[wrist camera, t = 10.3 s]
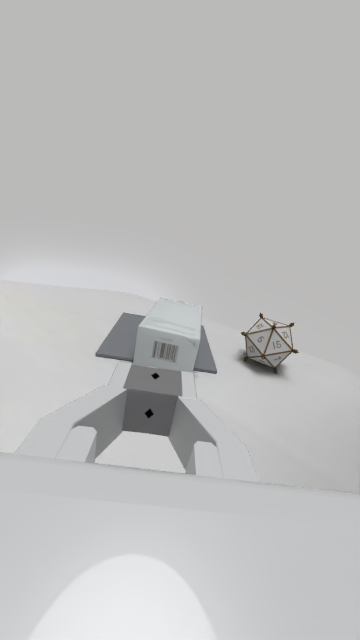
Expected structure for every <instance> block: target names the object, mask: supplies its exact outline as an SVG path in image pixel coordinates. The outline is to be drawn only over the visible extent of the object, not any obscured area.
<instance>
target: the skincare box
mask: <svg viewBox="0 0 360 640" xmlns="http://www.w3.org/2000/svg"><path fill="white" fill-rule="evenodd" d="M202 308H203V307H202V306H196V305H190V304H186V303H184V302H181V301H172V300H167V299H163V298H160V299H159V300H158V301H157V303H156V304H155V305H154V306H153V308H152V309H151V310H150V312H149V313H148V314H147V316H146V317H145V318H144V319H143V321H142V322H141V323H140V325H139V326H138V330H137V338H136V347H135V354H134V361H133V363H134V364H139V365H145V366H151V367H157V368H161V369H169V370H177V371H186V372H193V369H194V365H195V360H196V356H197V352H198V348H199V344H200V339H201V320H202Z"/></svg>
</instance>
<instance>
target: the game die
mask: <svg viewBox="0 0 360 640" xmlns="http://www.w3.org/2000/svg"><path fill="white" fill-rule="evenodd" d="M262 315H263V314H261V313H260V319H259V320H258V321H257V322H256V323H255V324H254V326H253V327H252V328H251V329H250V330H249V331H248V332H247V333H245V332H241V334H242V335H244V336H245V340H246V352H247V357H245V358H244V360H243V361H246V360H247V359H248V358H249V359H251V360H254V361H256V362H259V363H262V364H264V365H267V366H269V367H272V368H274V372H275V373H277V369H276V367H277V366H278V365H279V364H280V363H281V362H282V361H283V360H284V359H285V358H286V357H287V356H288V355H289V354H291V353H292V352H293V353H299V352H298V351H297V350H295V349H294V350H293V344H292V337H291V329H290V327H292V326H293V325H294V323H291V324H290V325H285V324H282V323H279V322H275V321H272V320H269V319H265V318H263V316H262Z"/></svg>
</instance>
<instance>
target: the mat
mask: <svg viewBox="0 0 360 640" xmlns="http://www.w3.org/2000/svg"><path fill="white" fill-rule="evenodd" d="M145 317H146V316H141V315H135V314H129V313H123V314H122V316H121V317H120V318H119V320H118V321H117V323H116V324H115V326H114V327H113V329H112V330H111V332H110V333H109V335H108V336H107V337H106V339H105V340H104V342H103V343H102V345H101V346H100V348H99V349H98V351H97V352H96V356H100V357H107V358H113V359H120V360H127V361H134V354H135V347H136V338H137V330H138V326H139V325H140V323H141V322H142V321H143V319H144V318H145ZM193 370H196V371H203V372H210V373H217V369H216V366H215V363H214V360H213V356H212V353H211V350H210V347H209V343H208V340H207V337H206V334H205V330H204V327H203V326H202V325H201V339H200V344H199V348H198V352H197V356H196V360H195V365H194V369H193Z"/></svg>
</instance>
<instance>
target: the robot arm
mask: <svg viewBox="0 0 360 640" xmlns="http://www.w3.org/2000/svg"><path fill="white" fill-rule="evenodd" d="M122 431H130V432H140V433H148V434H155V435H161V436H167V437H169V440H170V442H171V444H172V446H173V447H174V449H175V451H176V453H177V455H178V457H179V459H180V461H181V463H182V465H183V467H184V468H185V470H186V474H185V473H176V472H167V471H159V470H150V469H141V468H132V467H124V466H115V465H106V464H98V463H94V462H95V459H96V458H97V457H98V456H99V455H100V454H101V453H102V452H103V451H104V450H105V449H106V448H107V447H108V446H109V445H110V444H111V443H112V442H113V441H114V440H115V439H116V438H117V437H118V436H119V435H120V434H121V433H122ZM0 640H360V494H357V493H349V492H340V491H331V490H323V489H314V488H305V487H296V486H287V485H278V484H270V483H261V482H258V479H257V476H256V473H255V470H254V467H253V464H252V461H251V458H250V455H249V452H248V449H247V446H246V445H245V444H244V443H243V442H242V441H241V440H240V439H239V438H238V437H237V436H236V435H235V434H234V433H233V432H232V431H231V430H230V429H229V428H228V427H227V426H226V425H225V424H224V423H223V422H222V421H221V420H220V419H219V418H218V417H217V416H216V415H215V414H214V413H213V412H212V410H211V409H210V408H209V407H208V406H207V405H206V404H205V403H204V402H203V401H202V400H201V399H197V394H196V387H195V379H194V373H193V372H186V371H177V370H169V369H161V368H157V367H151V366H145V365H139V364H134V363H133V364H132V363H128V362H121V361H120V362H119V363H118V364H117V366H116V369H115V371H114V373H113V375H112V377H111V379H110V381H109V383H108V386H102V387H100V388H98V389H96V390H94V391H92V392H90V393H88V394H86V395H85V396H83V397H81V398H79V399H77V400H75V401H73V402H71V403H70V404H68V405H66V406H64V407H62V408H60V409H58V410H56V411H55V412H53V413H51V414H49V415H47V416H45V417H43V418H41V419H40V420H39V421H38V423H37V424H36V425H35V426H34V428H33V429H32V430H31V432H30V433H29V434H28V436H27V437H26V438H25V440H24V441H23V442H22V444H21V445H20V446H19V448H18V449H17V450H16V451H15V453H14V454H11V453H2V452H0Z"/></svg>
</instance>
